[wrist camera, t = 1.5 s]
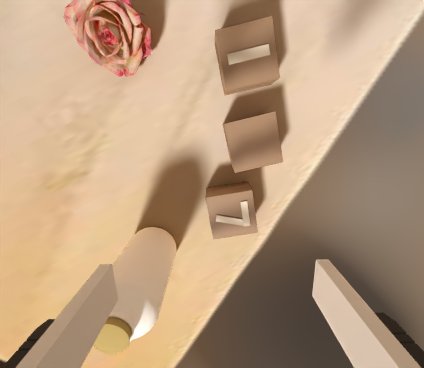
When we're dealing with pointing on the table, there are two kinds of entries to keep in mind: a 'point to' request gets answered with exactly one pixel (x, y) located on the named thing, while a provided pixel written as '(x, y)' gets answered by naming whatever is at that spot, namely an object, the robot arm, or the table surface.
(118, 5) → the flower
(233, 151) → the plain block
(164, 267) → the potion bottle
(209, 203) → the marked block seven
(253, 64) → the marked block one
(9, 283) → the table surface
